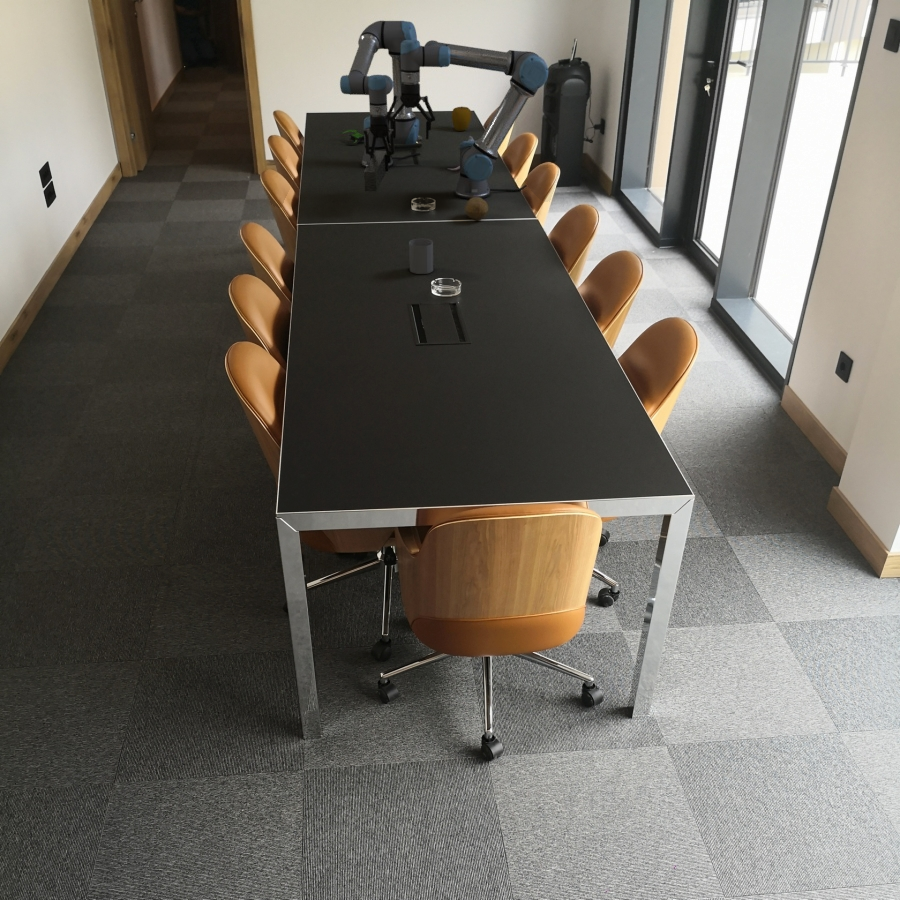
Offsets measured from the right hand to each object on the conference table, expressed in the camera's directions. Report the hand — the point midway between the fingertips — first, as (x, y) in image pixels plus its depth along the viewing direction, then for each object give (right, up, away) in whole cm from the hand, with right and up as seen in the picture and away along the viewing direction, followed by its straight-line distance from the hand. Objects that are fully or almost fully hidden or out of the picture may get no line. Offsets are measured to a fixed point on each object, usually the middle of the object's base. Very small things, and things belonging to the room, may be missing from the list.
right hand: (411, 138), depth 358 cm
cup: (+6, -65, -49) cm, 82 cm away
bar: (-15, -14, +12) cm, 24 cm away
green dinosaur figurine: (-28, +36, +109) cm, 118 cm away
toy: (+23, +5, +60) cm, 65 cm away
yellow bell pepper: (+23, +52, +133) cm, 145 cm away
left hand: (-14, -6, +23) cm, 28 cm away
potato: (+27, -33, 0) cm, 43 cm away
